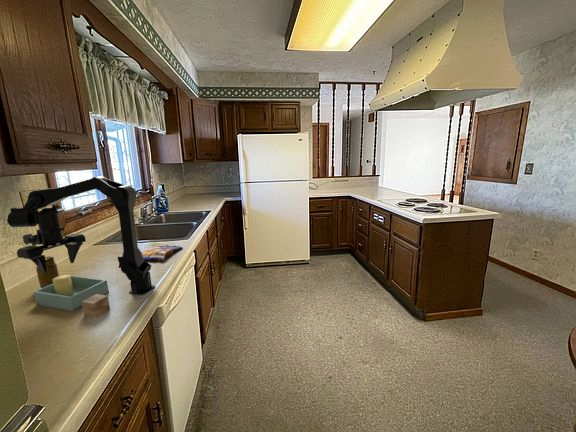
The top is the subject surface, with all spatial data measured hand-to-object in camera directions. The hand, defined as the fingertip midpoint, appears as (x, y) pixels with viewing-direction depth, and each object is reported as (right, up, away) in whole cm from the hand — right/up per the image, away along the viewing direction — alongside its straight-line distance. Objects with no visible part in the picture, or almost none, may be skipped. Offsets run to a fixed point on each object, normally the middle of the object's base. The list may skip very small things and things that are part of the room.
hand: (59, 267), depth 97 cm
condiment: (-12, -10, +11) cm, 19 cm away
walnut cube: (+19, -13, -8) cm, 25 cm away
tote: (+4, -11, +1) cm, 12 cm away
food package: (+16, -2, +45) cm, 48 cm away
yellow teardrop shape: (0, -11, +2) cm, 11 cm away
